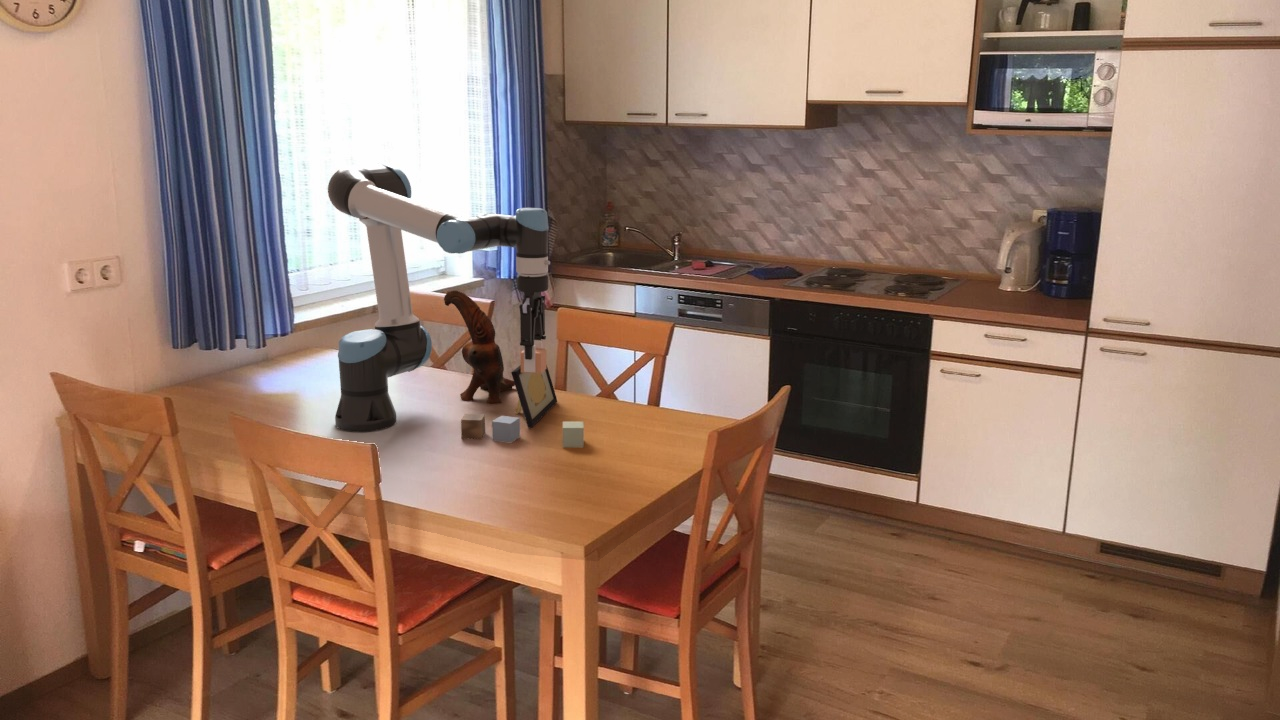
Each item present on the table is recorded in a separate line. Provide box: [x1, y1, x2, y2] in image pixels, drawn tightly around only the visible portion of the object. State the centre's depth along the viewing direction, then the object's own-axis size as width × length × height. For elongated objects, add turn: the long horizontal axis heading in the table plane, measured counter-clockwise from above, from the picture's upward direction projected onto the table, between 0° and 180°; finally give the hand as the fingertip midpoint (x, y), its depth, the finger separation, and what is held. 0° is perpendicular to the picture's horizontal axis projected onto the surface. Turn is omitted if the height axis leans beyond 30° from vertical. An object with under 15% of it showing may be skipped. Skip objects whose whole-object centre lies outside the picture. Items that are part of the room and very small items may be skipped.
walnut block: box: [460, 413, 486, 440], centre depth 247 cm, size 5×5×5 cm
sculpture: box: [443, 290, 515, 405], centre depth 280 cm, size 19×18×30 cm
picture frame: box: [510, 364, 558, 429], centre depth 265 cm, size 23×9×15 cm, turn 168°
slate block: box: [491, 415, 521, 444], centre depth 246 cm, size 5×5×5 cm
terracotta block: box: [520, 347, 548, 374], centre depth 242 cm, size 5×5×5 cm
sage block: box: [562, 421, 585, 448], centre depth 242 cm, size 5×5×5 cm
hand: (533, 368), depth 243 cm, fingers closed on terracotta block, 5 cm apart
